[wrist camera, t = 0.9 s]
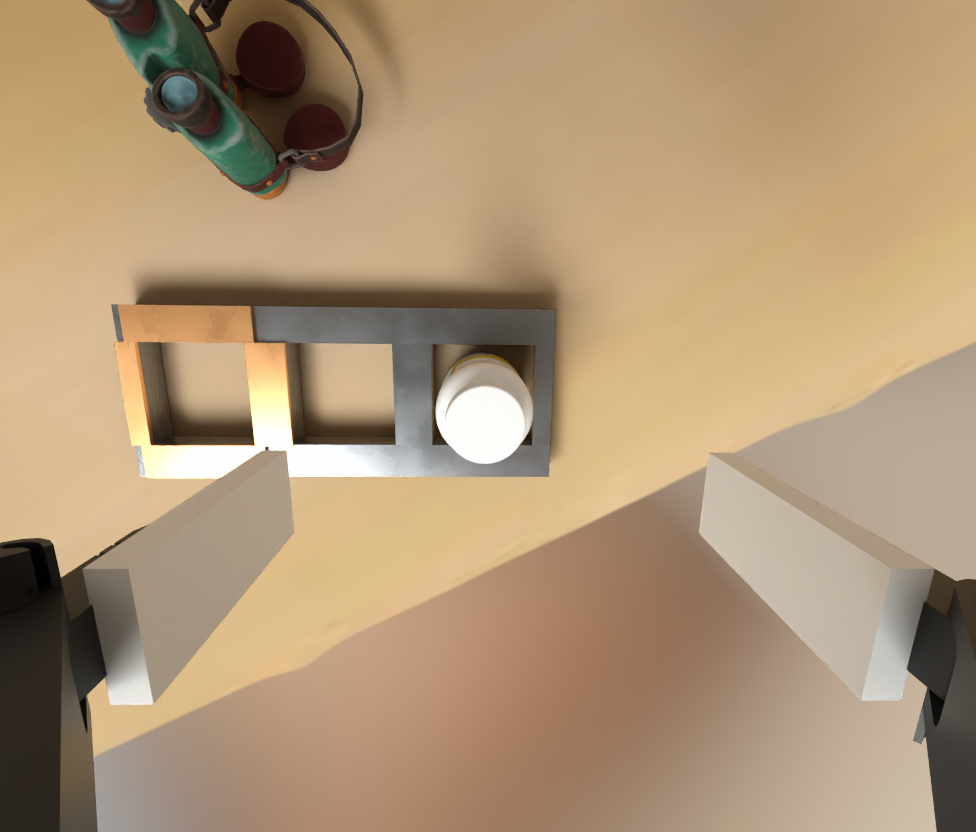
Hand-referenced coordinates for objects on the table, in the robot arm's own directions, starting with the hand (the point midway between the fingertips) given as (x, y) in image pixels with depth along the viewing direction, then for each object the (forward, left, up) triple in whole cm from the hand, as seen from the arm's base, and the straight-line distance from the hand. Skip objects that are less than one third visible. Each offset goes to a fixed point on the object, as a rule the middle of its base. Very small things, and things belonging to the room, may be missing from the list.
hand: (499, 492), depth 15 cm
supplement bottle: (0, 0, -18) cm, 18 cm away
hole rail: (-9, 0, -18) cm, 20 cm away
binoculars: (-12, +17, -18) cm, 28 cm away
